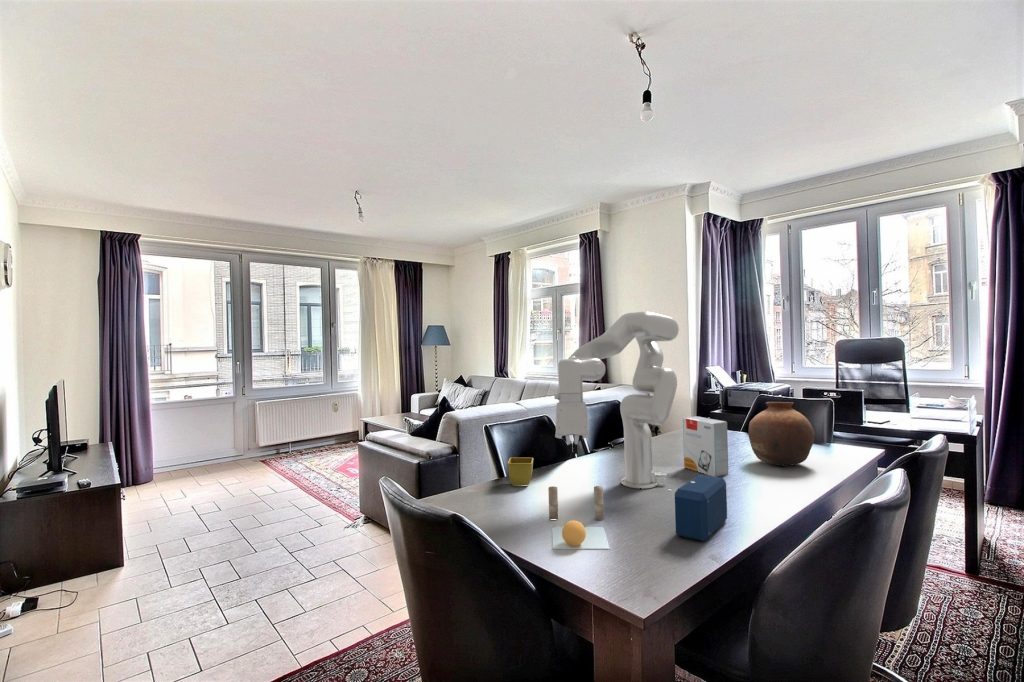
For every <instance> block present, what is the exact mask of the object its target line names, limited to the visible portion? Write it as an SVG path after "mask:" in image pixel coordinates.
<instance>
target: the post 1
mask: <svg viewBox="0 0 1024 682" xmlns="http://www.w3.org/2000/svg"><path fill="white" fill-rule="evenodd" d="M547 490H548V517H549V518H550V519H559V504H558V503H559V499H558V498H559V497H558V487H557V486H555V485H554V486H552V485H551V486H548V489H547ZM549 518H548V519H549ZM550 519H549V520H550Z"/></svg>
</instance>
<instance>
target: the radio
mask: <svg viewBox="0 0 1024 682" xmlns="http://www.w3.org/2000/svg"><path fill="white" fill-rule="evenodd" d="M706 460H707V451H706ZM727 497H728V495H727V482H726V480H725V479H724V478H723V477H720V476H717V477H713V476H710V475H708V469H707V475H706V474H697V476H695V477H694V478H691V479H690V480H689V481H688V482H686V483H685V484H683V485H682V486H680V487H679V488H677V489H676V490H675V492H674V512H675V513H674V515H675V517H674V518H675V519H674V520H675V521H674V522H675V535H678V536H679V537H683V538H688V539H692V540H697V541H700V542H706V540H708V539H709V538H710V537H711V536H712V535H713V534H712V533H713V532H714V531H715V530H716V531H717V529H718V528H720V527H721V526H722V524H723V523H725V522H726V520H727V519H728V504H727V503H728V501H727V500H728V499H727ZM716 531H715V532H716ZM715 532H714V533H715ZM711 534H712V535H711Z"/></svg>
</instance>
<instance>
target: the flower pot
mask: <svg viewBox="0 0 1024 682" xmlns="http://www.w3.org/2000/svg"><path fill="white" fill-rule="evenodd" d="M533 466H534V457H509V459H508V461H507V469H508V476H509V479H510V482H511V485H512V486H513V485H528V486H529V485H530V483H531V479H532V476H533V468H534V467H533Z"/></svg>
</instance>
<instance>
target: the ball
mask: <svg viewBox="0 0 1024 682" xmlns="http://www.w3.org/2000/svg"><path fill="white" fill-rule="evenodd" d="M562 527H563V529H562V537H563V539H564V541H565V542H566V543H567V544H569V545H571V546H578V545H580V544H581V543H582V542H583V541H584V540H585V537H586V531H585V528H584V527H585V526H584V524H582V522H580V521H577V520H569V521H567V522H565V524H564V525H563V526H562Z"/></svg>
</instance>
